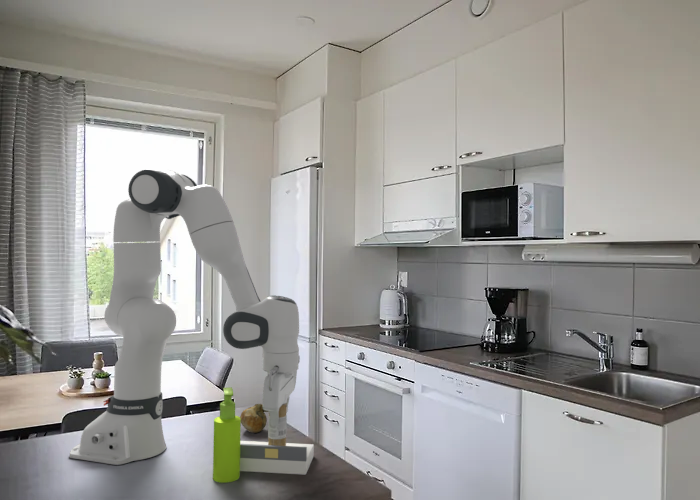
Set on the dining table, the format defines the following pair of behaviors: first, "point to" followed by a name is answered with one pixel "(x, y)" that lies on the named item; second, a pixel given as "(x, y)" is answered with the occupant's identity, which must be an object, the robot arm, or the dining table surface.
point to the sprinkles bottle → (278, 428)
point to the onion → (254, 418)
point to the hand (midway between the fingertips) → (279, 418)
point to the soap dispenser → (226, 441)
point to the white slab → (275, 457)
